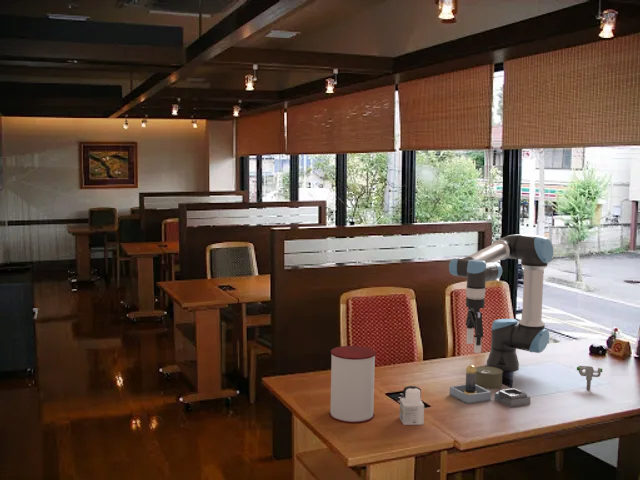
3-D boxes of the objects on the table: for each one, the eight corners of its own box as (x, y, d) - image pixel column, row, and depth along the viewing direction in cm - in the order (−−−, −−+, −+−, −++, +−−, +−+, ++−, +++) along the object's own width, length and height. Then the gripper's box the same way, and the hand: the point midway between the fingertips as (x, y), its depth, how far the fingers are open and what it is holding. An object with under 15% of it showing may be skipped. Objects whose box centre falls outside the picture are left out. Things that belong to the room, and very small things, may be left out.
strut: (465, 398, 282) (467, 367, 281) (462, 394, 287) (463, 363, 286) (478, 398, 283) (479, 367, 281) (474, 394, 288) (475, 363, 286)
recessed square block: (494, 399, 283) (495, 389, 283) (513, 396, 287) (514, 386, 287) (510, 407, 274) (511, 397, 274) (530, 404, 278) (530, 394, 278)
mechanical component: (601, 391, 296) (602, 369, 295) (576, 389, 298) (577, 367, 297) (600, 389, 299) (601, 367, 298) (575, 387, 301) (576, 365, 300)
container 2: (399, 417, 261) (400, 384, 260) (418, 417, 262) (420, 384, 261) (403, 425, 254) (404, 391, 252) (423, 424, 254) (424, 390, 253)
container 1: (381, 421, 257) (382, 356, 254) (337, 425, 252) (338, 359, 250) (365, 405, 274) (366, 344, 271) (323, 409, 269) (325, 347, 266)
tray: (449, 394, 288) (449, 386, 288) (472, 391, 293) (473, 383, 293) (467, 404, 277) (467, 395, 277) (490, 400, 282) (491, 391, 282)
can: (507, 385, 303) (507, 370, 302) (494, 391, 294) (494, 376, 293) (482, 379, 311) (483, 364, 310) (469, 385, 302) (469, 370, 301)
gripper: (492, 304, 268) (490, 356, 271) (477, 291, 293) (475, 340, 296) (473, 304, 268) (471, 356, 271) (459, 291, 293) (458, 339, 296)
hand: (473, 348), depth 283 cm, fingers open, 13 cm apart
